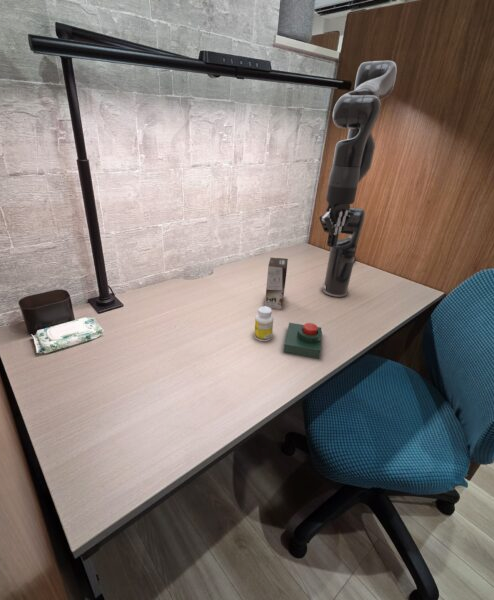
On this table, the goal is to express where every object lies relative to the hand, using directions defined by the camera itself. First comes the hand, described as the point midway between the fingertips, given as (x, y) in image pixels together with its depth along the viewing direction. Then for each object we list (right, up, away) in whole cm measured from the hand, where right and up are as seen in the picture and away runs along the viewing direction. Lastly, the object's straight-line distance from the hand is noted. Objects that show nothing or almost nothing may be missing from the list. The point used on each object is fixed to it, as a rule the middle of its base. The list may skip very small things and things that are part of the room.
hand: (331, 246), depth 92 cm
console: (-8, -29, +3) cm, 30 cm away
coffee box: (-14, -17, +25) cm, 33 cm away
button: (-6, -25, 0) cm, 26 cm away
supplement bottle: (-20, -27, +5) cm, 34 cm away
